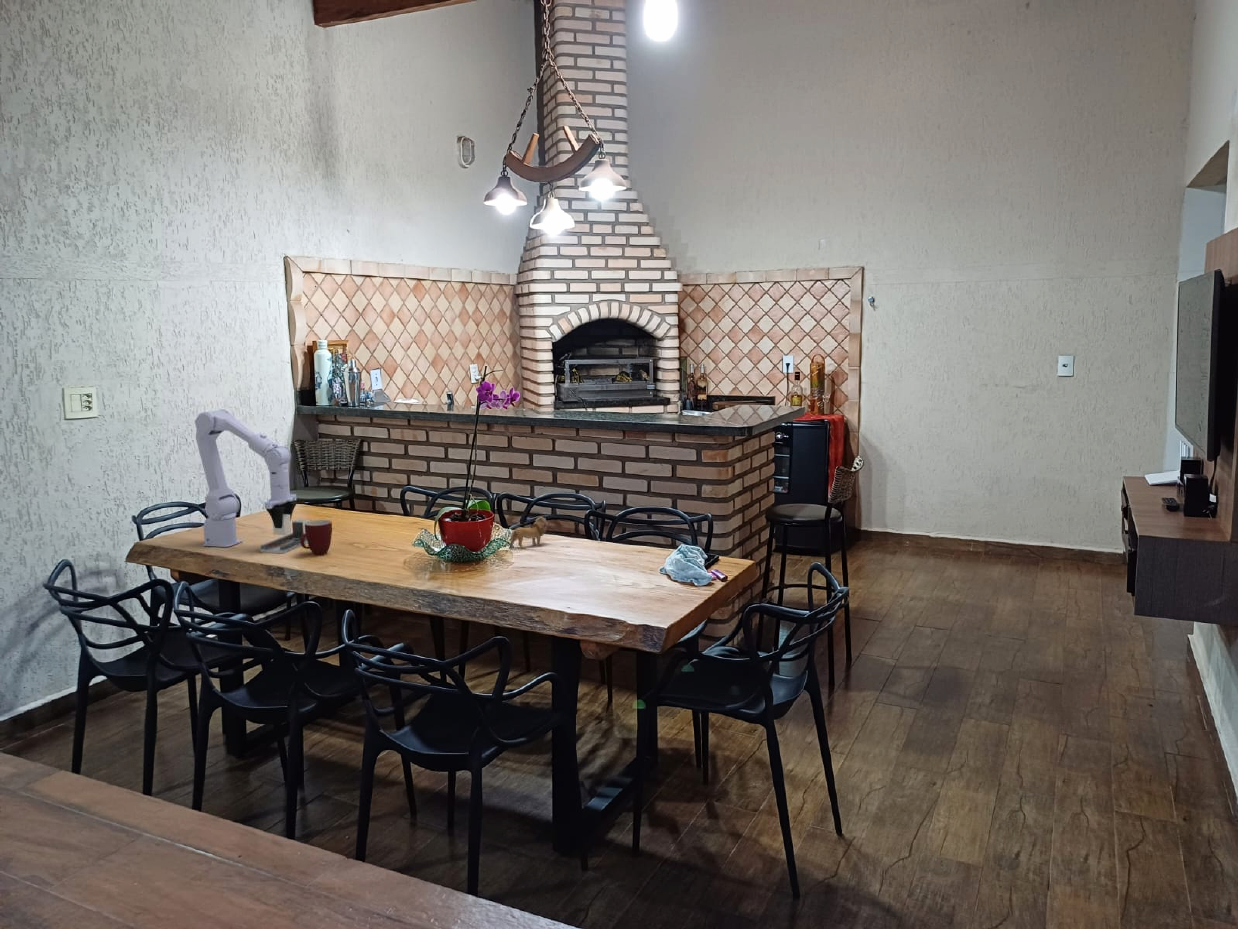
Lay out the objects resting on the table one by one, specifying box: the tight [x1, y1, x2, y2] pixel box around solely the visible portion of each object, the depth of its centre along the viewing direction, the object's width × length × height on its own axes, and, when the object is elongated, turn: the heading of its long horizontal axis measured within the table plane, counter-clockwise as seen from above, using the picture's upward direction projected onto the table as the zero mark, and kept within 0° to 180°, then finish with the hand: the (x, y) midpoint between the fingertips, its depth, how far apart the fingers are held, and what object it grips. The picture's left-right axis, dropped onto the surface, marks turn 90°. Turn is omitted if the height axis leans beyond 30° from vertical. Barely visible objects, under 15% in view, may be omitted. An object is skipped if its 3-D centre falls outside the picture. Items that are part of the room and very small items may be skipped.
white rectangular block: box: [272, 514, 292, 536], centre depth 284 cm, size 4×4×6 cm
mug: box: [300, 519, 333, 556], centre depth 276 cm, size 10×8×10 cm
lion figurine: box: [508, 516, 548, 550], centre depth 286 cm, size 15×5×9 cm, turn 130°
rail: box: [260, 518, 310, 554], centre depth 288 cm, size 8×19×7 cm, turn 168°
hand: (282, 526), depth 284 cm, fingers closed on white rectangular block, 4 cm apart
